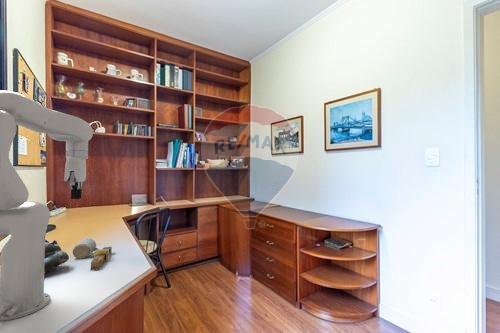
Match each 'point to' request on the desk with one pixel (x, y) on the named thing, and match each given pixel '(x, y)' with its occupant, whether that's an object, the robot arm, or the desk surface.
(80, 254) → the ceramic mug
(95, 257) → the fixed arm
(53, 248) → the lucky cat figurine
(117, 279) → the desk surface
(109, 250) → the block
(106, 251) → the collar
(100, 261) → the bar
